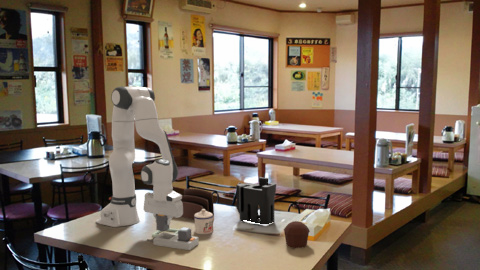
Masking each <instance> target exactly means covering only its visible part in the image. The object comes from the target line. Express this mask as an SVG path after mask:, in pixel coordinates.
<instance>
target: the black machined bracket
mask: <svg viewBox="0 0 480 270" xmlns="http://www.w3.org/2000/svg"><path fill="white" fill-rule="evenodd" d="M235 190H236V192H235V193H236V194H235V195H236V198H235V199H236V210H237V212H238V214H239V221H240V222H241V221H243V220H247V221H251V222H255V223H260V224H269V223H272V222H274V223H275V196H276V192H277V182H270V183H269V178H268V177H262V176H259V177H258V183H248V182H247V183H238V184H236V185H235ZM258 218H260V220H259V219H258ZM250 219H251V220H250Z"/></svg>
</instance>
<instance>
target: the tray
mask: <svg viewBox="0 0 480 270" xmlns="http://www.w3.org/2000/svg"><path fill="white" fill-rule="evenodd" d="M179 230H180V229H179V228H171V227H169V229H168V230H166V231H167V232H174V233H173V234H178V231H179ZM166 231H165V232H166ZM161 233H163V231H159V230H156V231H154V232H153V233H151V238H153V237H154V238H155V237H156V236H158V235H160V234H161Z"/></svg>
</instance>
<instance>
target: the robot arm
mask: <svg viewBox="0 0 480 270" xmlns="http://www.w3.org/2000/svg"><path fill="white" fill-rule="evenodd" d="M155 95H156V94H155V92H154V90H153V89H151V88H150V87H147V86H136V85H132V86H117V87H115V88H114V89H113V90H112V92H111V97H110V100H111V102H112V105H113V109H112V115H111V139H112V150H113V151H112V152H111V153H110V155H109V157H108V165H109V172H110V177H111V181H112V183H111V184H112V195H111V196H110V197H108V200H109V201H110V203H108V204H107V205H106V206H105V207H104V208H102V209H101V212H100V217H99V218H97V219H96V220H95V223H96V224H100V225H104V226H108V227H112V228H119V227H123V226H124V227H125V226H131V225H135V224H137V223H139V222H140V217H139V214H138V209H137V194H136V188H135V177H134V172H133V163H134V162H135V158H136V146H135V145H136V144H135V131H136V133H137V134H138V135H139V136H140V137H141V138H142V139H144V140H147V141H151V142H153V143H155V144H156V145H157V146H158V147H159V151H160V155H161V158H158V159H156V160H154V162H153V163H150V164H147V165H144V166H143V167H142V169H141V171H140V180H141V181H142V182H143V184H144V185H145V184H146V185H147V186H148V185H149V186H150V185H151V186H153V188H152V189H153V190H152V191H153V192H146V193H145V194H144V200H143V201H144V202H143V211H144V212H146V213H150V214H153V217H154V219H155V220H156V215H158V214H161V215H165V216H167V218H168V220H167V221H166V225H169V226H170V225H171V220H172V219H173V218H182V217H181V216H182V215H183V203H182V201H181V199H182V194H181V193H178V192H176V191H175V190H173V189H174V188H173V183H174V182H175V181H176V180H177V178H178V176H179V168H178V166H177V163H176V161H175V158H174V155H173V151H172V148H171V143H170V141H169V137H168V135H167V132H166V130H164V129H163V127H161V125H160V121H159V115H158V110H157V107H156V104H155V100H156V96H155Z"/></svg>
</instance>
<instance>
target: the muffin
mask: <svg viewBox="0 0 480 270" xmlns="http://www.w3.org/2000/svg"><path fill="white" fill-rule="evenodd" d="M310 231H311V230H310V229H309V227H308V226H307V224H305V223H303V222H302V221H297V220H295V221H291V222H289V223H288V224H286V226H285V227H284V228H283V232H284V237H285V244H286V246H287V247H288V248H292V249H303V248H305V247H307V245H308V240H309V239H308V238H309V233H310Z"/></svg>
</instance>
